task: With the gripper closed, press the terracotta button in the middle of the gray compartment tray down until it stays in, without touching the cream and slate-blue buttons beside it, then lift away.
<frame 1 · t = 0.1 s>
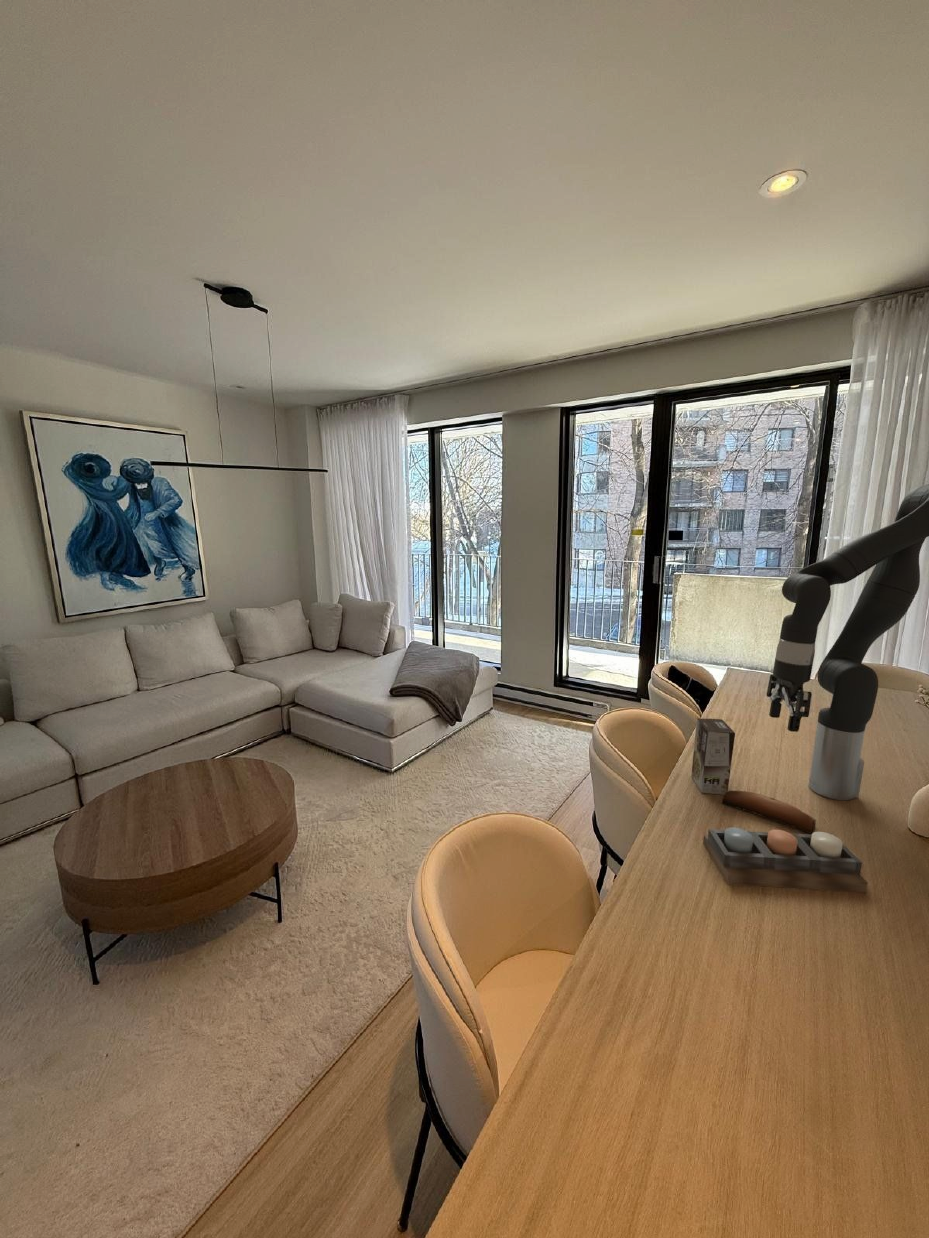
hand: (783, 723, 123), 17 cm above the table, tool pointing down, fingers open, 8 cm apart
sunglasses case: (768, 814, 116), on the table
slate button: (738, 841, 98), point 5 cm above the table, slide at 0.0 cm
cream button: (825, 846, 97), point 5 cm above the table, slide at 0.0 cm
coffee box: (708, 785, 128), on the table
terracotta button: (781, 844, 97), point 5 cm above the table, slide at 0.0 cm
gray compartment tray: (778, 865, 98), on the table
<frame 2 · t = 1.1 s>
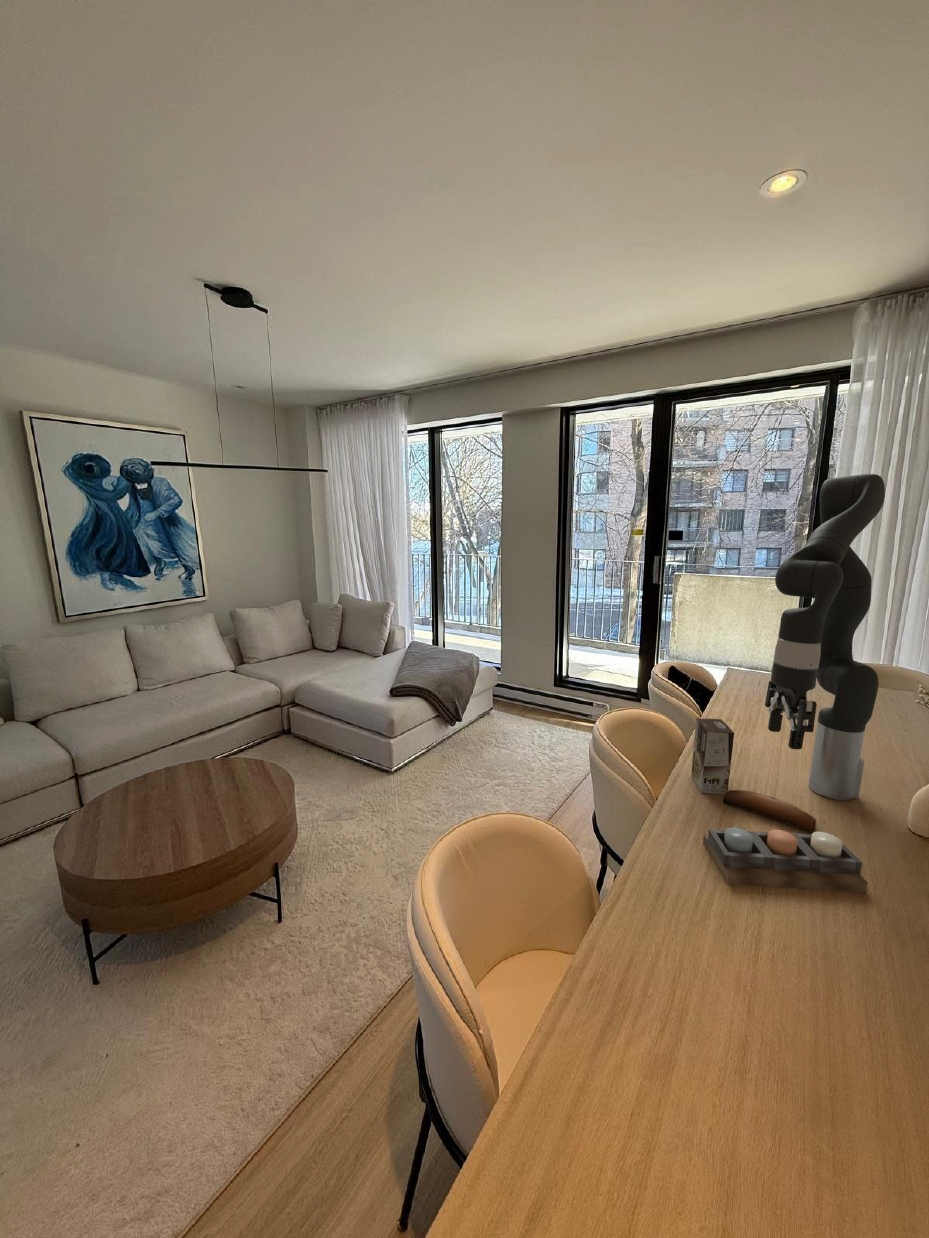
hand: (783, 739, 103), 22 cm above the table, tool pointing down, fingers open, 8 cm apart
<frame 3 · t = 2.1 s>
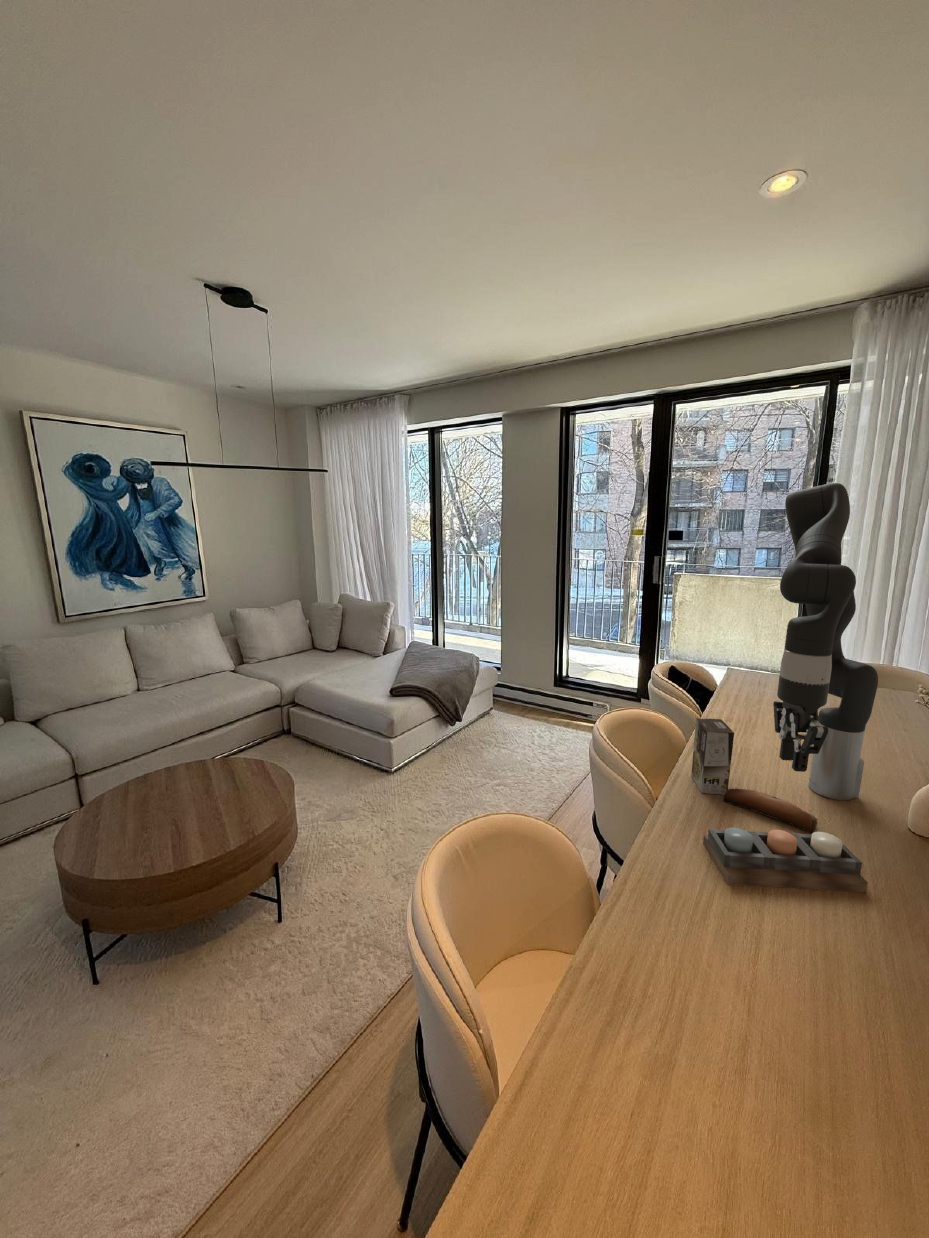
hand: (792, 764, 94), 21 cm above the table, tool pointing down, fingers open, 3 cm apart
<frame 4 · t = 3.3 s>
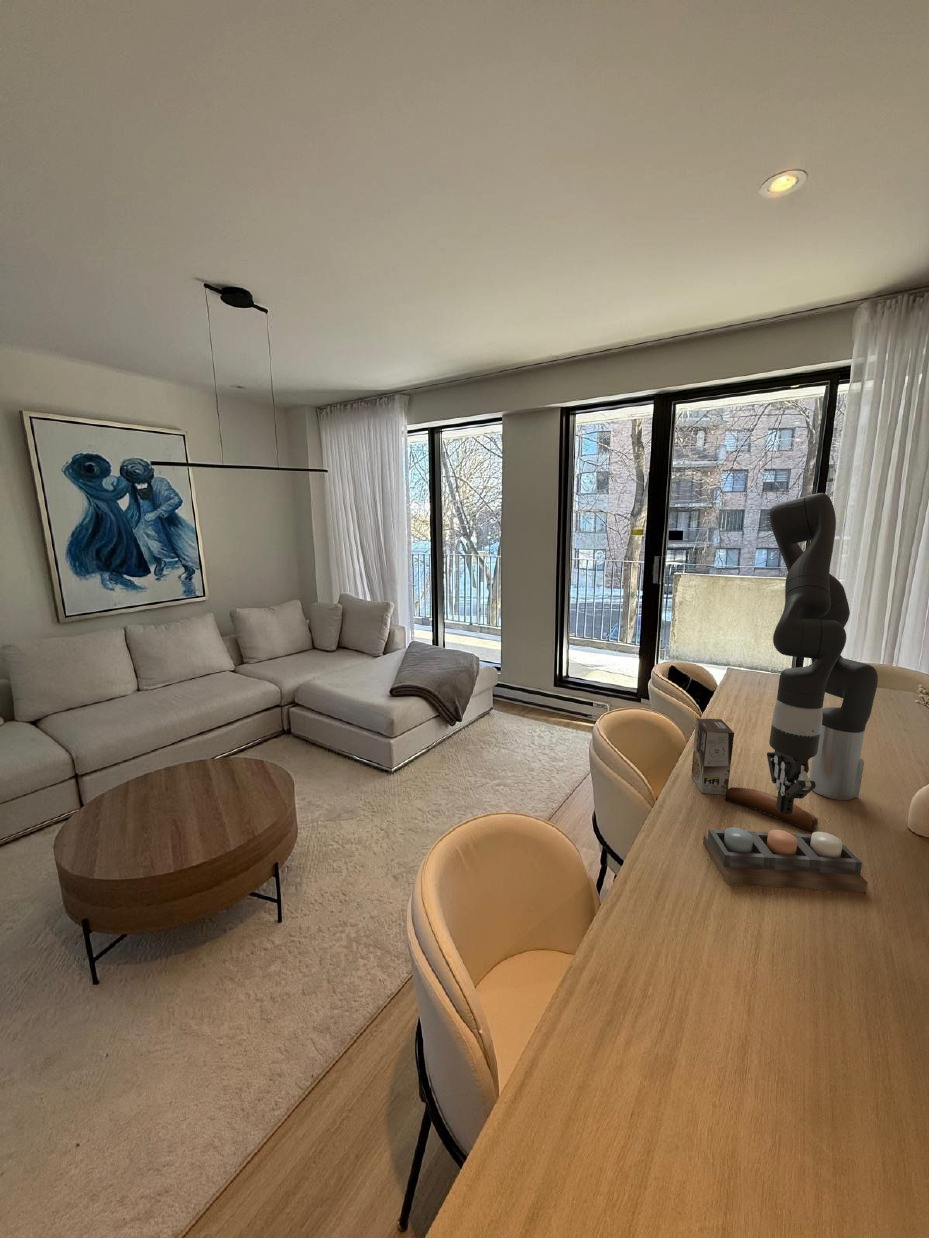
hand: (783, 811, 96), 11 cm above the table, tool pointing down, fingers closed
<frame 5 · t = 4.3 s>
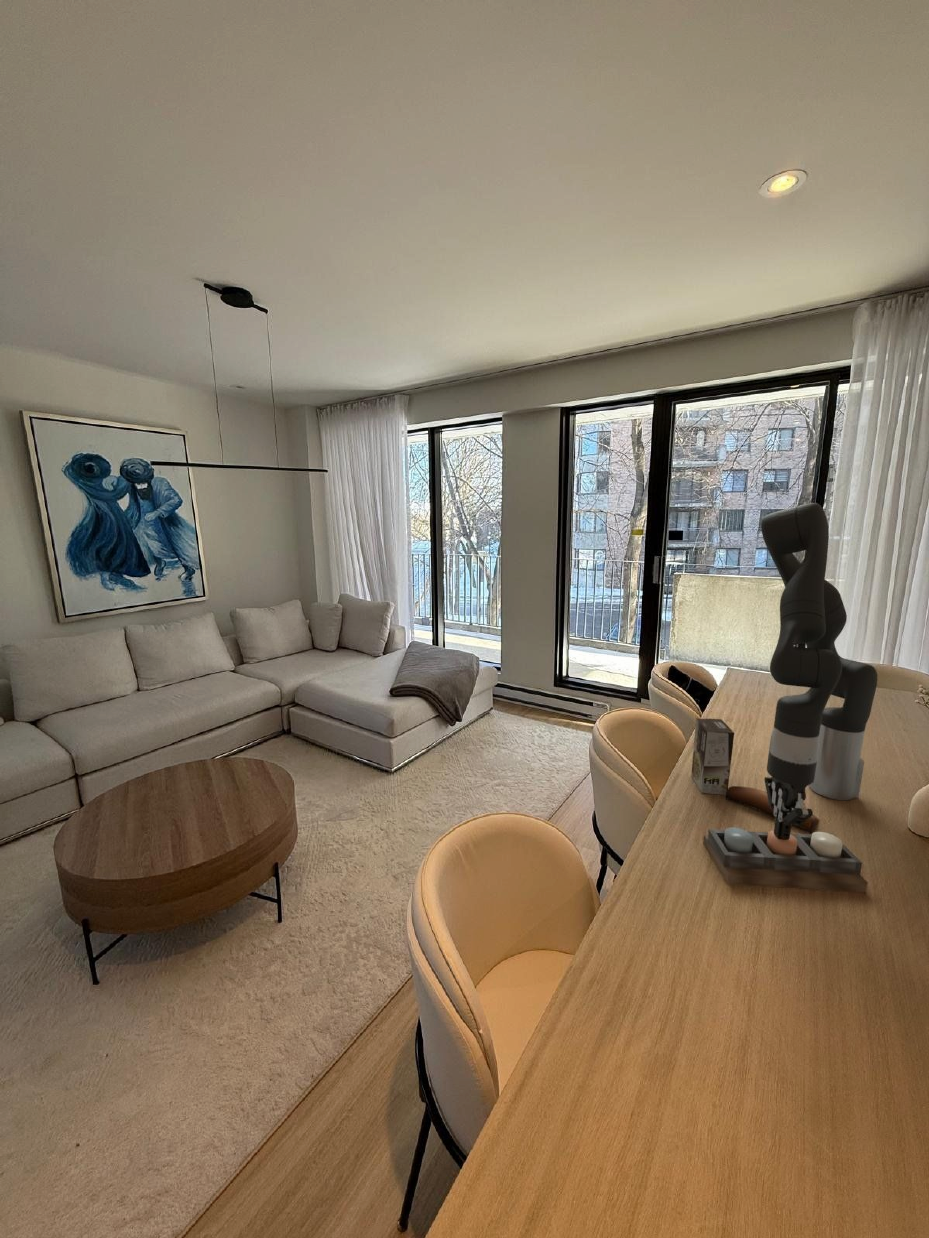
hand: (781, 837, 97), 6 cm above the table, tool pointing down, fingers closed
terracotta button: (781, 844, 97), point 5 cm above the table, slide at 0.1 cm, touching gripper
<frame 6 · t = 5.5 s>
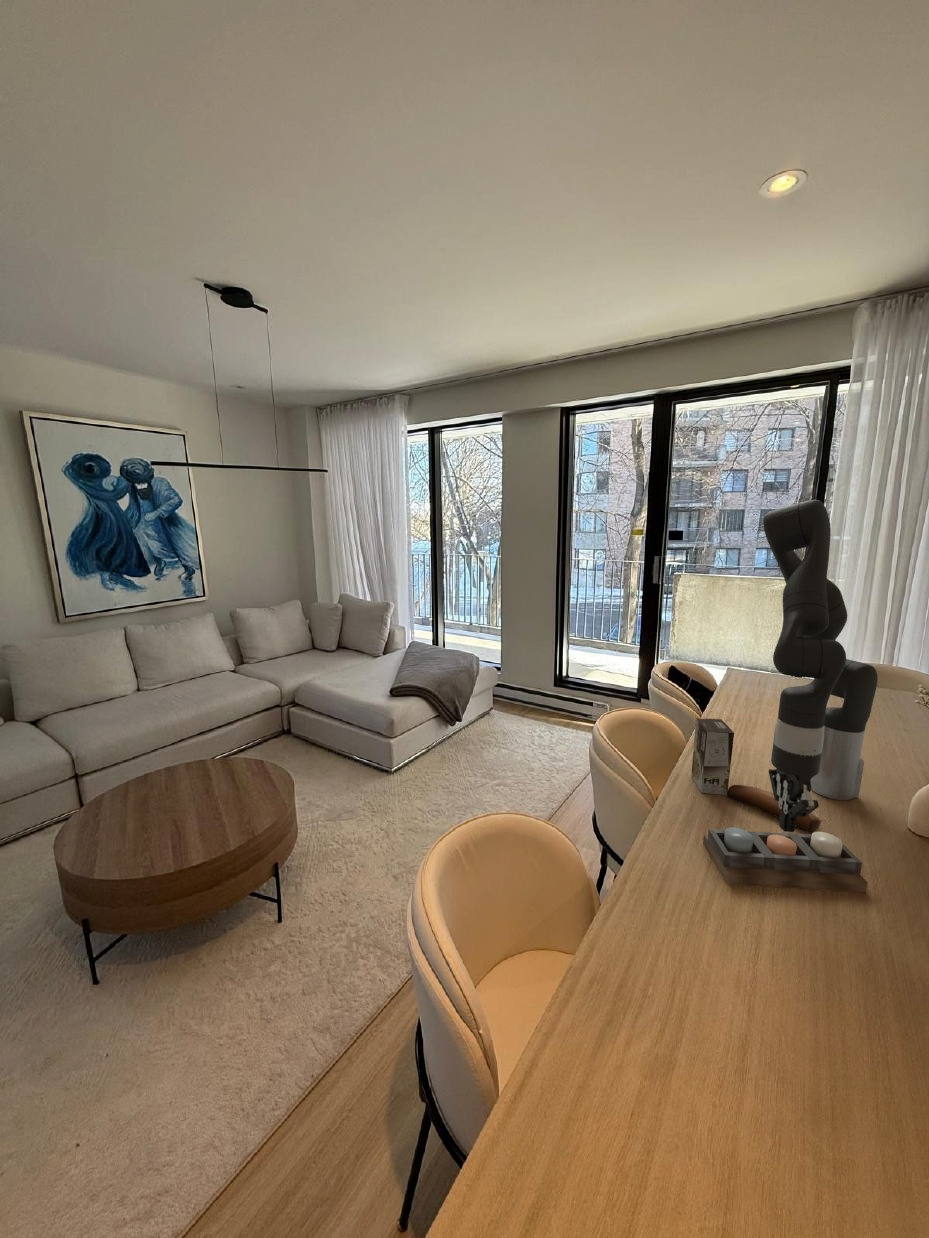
hand: (786, 829, 97), 8 cm above the table, tool pointing down, fingers closed
terracotta button: (781, 849, 98), point 4 cm above the table, slide at 1.1 cm
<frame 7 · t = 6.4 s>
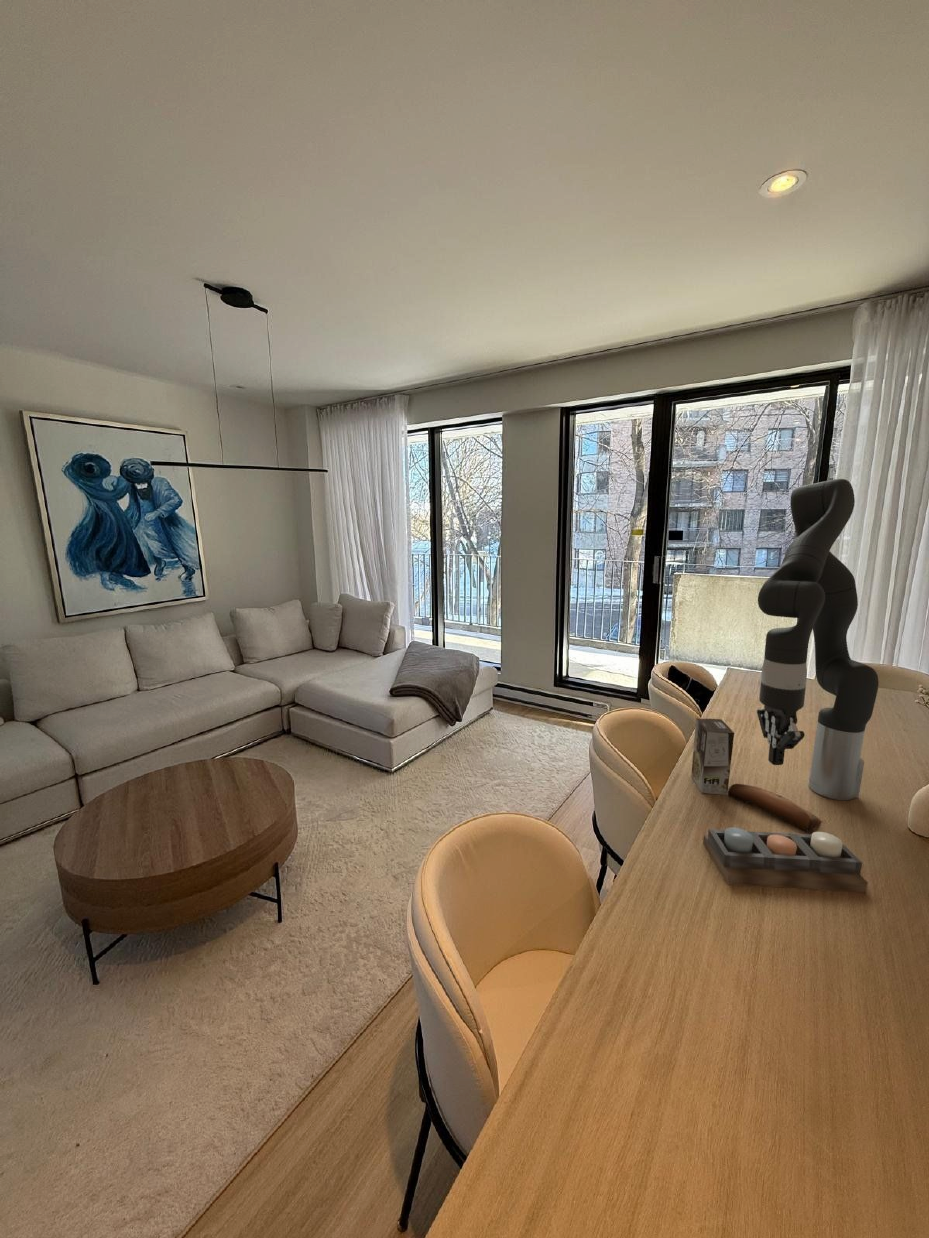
hand: (775, 763, 103), 17 cm above the table, tool pointing down, fingers closed
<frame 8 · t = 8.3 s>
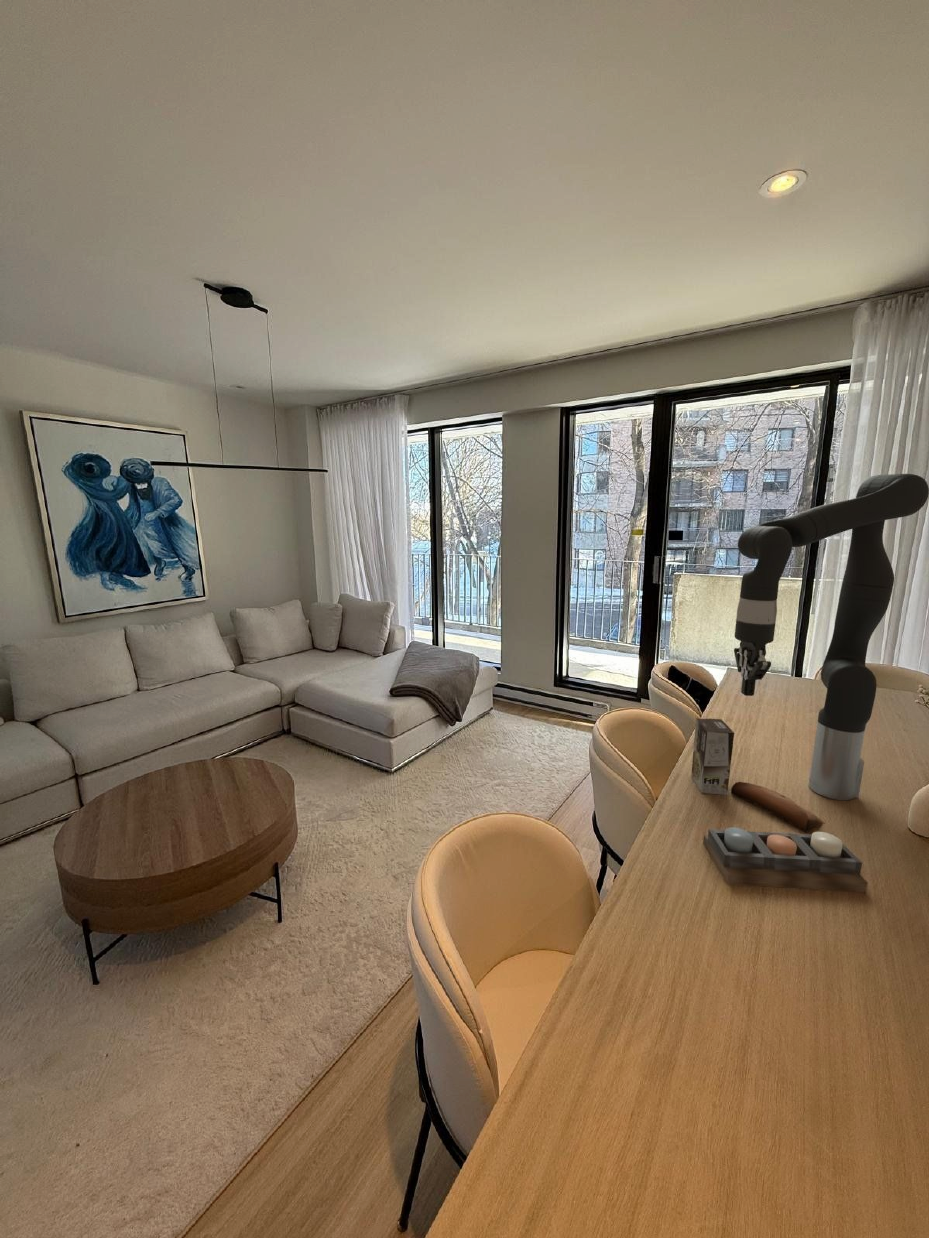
hand: (747, 694, 114), 27 cm above the table, tool pointing down, fingers closed
at the end: terracotta button slide at 1.1 cm; cream button slide at 0.0 cm; slate button slide at 0.0 cm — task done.
